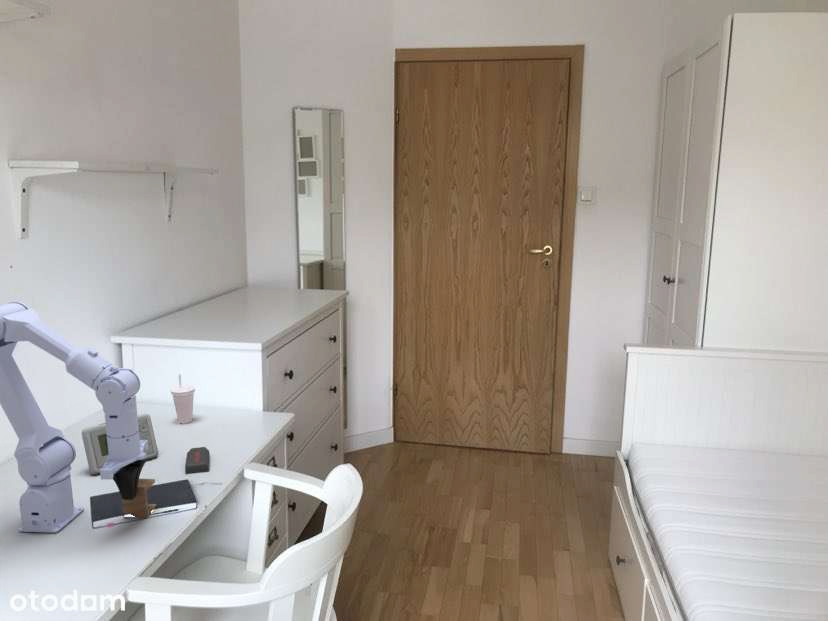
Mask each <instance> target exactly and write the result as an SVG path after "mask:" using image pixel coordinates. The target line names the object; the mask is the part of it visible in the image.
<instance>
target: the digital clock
mask: <svg viewBox="0 0 828 621" xmlns="http://www.w3.org/2000/svg"><path fill="white" fill-rule="evenodd" d="M137 416H138V427H139V439H140V440H147V441H148V450H146V451H143V453H146V455H147V456H146V457H145V458H144V459H143V460H145V461H146V460H150V459H153V458H156V457H158V455H159V449H158V445H157V441H156V436H155V431H154V428H153V422H152V418H151V416H150V414H149V413H143V414H137ZM81 437H82V442H83V448H84V451H85V455H86V460H87V465H88V469H89V473H90V474H91V475H100V469H101V468H102V467H103V466H104V464H105V462H106V460H107V457H108V456H109V453H108V443H107V433H106V423H105V422H103V423H99V424H97V425H92V426H90V427H87V428H85V427H84V428H83V429H82V431H81Z"/></svg>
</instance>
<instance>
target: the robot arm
mask: <svg viewBox="0 0 828 621" xmlns="http://www.w3.org/2000/svg"><path fill="white" fill-rule="evenodd" d="M18 342H29V343H30V344H33V345H34V346H36V347H38V348H39V349H41V350H43V351H44V352H46V353H47V354H49V355H52V356H53V357H54V358H56V359H58V360H60V361H62V362H63V363H64V364H65V371H66V372H67V373H68V374H69V375H71V376H72V377H74V378H75V379H77V380H78V381H80V382H81V383H83V384H84V385H85V386H87V387H88V388H90V389H92V390H93V391H94V393H95V397H96V400H98V402H99V403H100V404H101V406H102V411H103V413H104V419H105V420H104V421H105V422H104V423H106V433H107V443H108V453H109V456H108V457H107V460H106V462H105V464H104V466H103V467H102V468H101V469H100V473H99V477H100V480H107V481H108V480H112V481H114V483H115V485H116V487H117V488H118V491H119V494H120V497H121V496H122V499H123V500H133V499H134V498H135V497H136V492H137V486H138V480H139V479H140V476H141V472H142V470H143V468H144V466H145V463H146V462H145V461H144V460H143V459H144V458H145V457H146V456H147V455H146V453H143V451H146V450H148V441H147V440H140V439H139V427H138V408H137V407H138V406H137V397H136V395H137V394H138V393H139V391H140V388H141V381H140V380H141V379H140V378H139V376H138V375H137V373H136V372H134V370H133V369H130V368H128V367H122V368H120V367H119V366H117V364H113V363H110V362H109V361H108V360H106V359H105V358H104V357H102V356H101V355H99V351H98V350H96V349H95V348H91V349H90V348H89V347H83V348H82V347H81V348H78V347H76V346H75V345H74V344H73V343H71V342H70V341H69V340H68V339H66V338H65V337H64V336H62V335H61V334H60V333H58V331H56V330H55V329H54V328H52V327H51V326H50V325H48V323H45V322H44V321H43V320H42V319H41V317H40V316H39V314H38V312H37V311H36V310H34V309H33V308H30V307H29V306H28V305H26V304H25V303H23V302H21V301H11V302H9V303H8V302H7V303H5V304H2V305H0V406H1V408H2V410H3V412H4V414H5V415H6V417H7V419H8V421H9V423H10V425H11V426H12V429H13V431H14V432H15V434H16V436H17V438H18V442H17V445H16V447H15V450H14V454H13V455H14V457H15V460H16V461H17V470H18V474H19V477H21V478H22V480H23V481H24V482H26V485H27V488H26V489H25V491H24V492H23V493H22V494H21V496H20V498H19V502H18V505H19V512H20V520H21V526H20V527H19V528H18V532H21V533H23V532H25V533H52V534H53V533H54V534H55V533H59V531H61V530H62V529H63V528H64V527H66V526H67V525H68V524H69V523H70V522H71V521H73V520H74V519H75V518H76V517H77V516H79V515H80V514H81V513H82V512H84V510H85V508H84V506H81V507H80V506H75V505H74V504H75V503H74V497H73V496H74V495H73V486H72V480H71V479H72V478H71V477H72V476H71V470H72V466H71V464H73V463H74V461H75V460H76V458H77V451H76V447H75V446H74V444H73V443H72V442H71V441H70V440H69V439H68V438H67V437H66V436H65V435H64V434H63V432H62V430H61V429H59V428H56V427H54V426H50V425H49V424H48V421H47V420H46V418H45V416H44V414H43V412H42V411H41V408H40V406H39V404H38V402H37V401H36V399H35V397H34V394H33V393H32V391H31V389H30V386H28V383H27V381H26V379H25V378H24V376H23V374H22V372H21V370H20V368H19V366H18V364H17V363H16V360H15V358H14V357H13V352H14V350H15V348H16V346H17V344H18Z"/></svg>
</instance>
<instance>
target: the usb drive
mask: <svg viewBox="0 0 828 621" xmlns="http://www.w3.org/2000/svg"><path fill="white" fill-rule="evenodd" d="M210 456H211V455H210V450H209V449H208V448H207V447H206V446H199V447H198V446H197V447H191V448H190V450H189V451H188V452H187V453H186V458H185V466H184V470H185V471H184V474H185V475H190V474H191V475H192V474H200V473H201V474H202V473H207V472H210V460H211V459H210V458H211V457H210Z"/></svg>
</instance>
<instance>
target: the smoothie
mask: <svg viewBox="0 0 828 621" xmlns="http://www.w3.org/2000/svg"><path fill="white" fill-rule="evenodd" d="M178 383H179V384H178V385H179V386H175V387H174V388H172V389H171V390H170V395H172V400H173V403H174V407H175V413H176V417H177V422H179V423H178V424H180V423H187V424H189V423H188V422H190V423H192V422H193V414H194V413H193V411H194V399H195V398H194V396H195V395H194V393H195V392H196V390H195V387H194V386H192V385H182V375H181V374H180V373H179V374H178ZM191 421H192V422H191Z"/></svg>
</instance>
